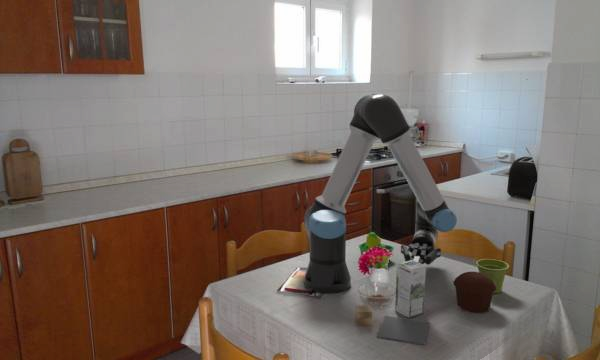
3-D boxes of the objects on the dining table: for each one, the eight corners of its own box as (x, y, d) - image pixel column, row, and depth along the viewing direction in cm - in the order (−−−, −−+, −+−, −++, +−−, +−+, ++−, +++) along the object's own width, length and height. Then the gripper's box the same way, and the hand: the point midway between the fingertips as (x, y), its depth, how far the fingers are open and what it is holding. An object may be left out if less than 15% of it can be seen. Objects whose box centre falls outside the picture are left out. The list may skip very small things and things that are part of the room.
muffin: (497, 303, 143) (499, 271, 141) (492, 318, 133) (494, 284, 131) (456, 295, 148) (457, 264, 146) (448, 309, 139) (449, 276, 137)
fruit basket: (394, 259, 180) (395, 230, 178) (381, 266, 173) (382, 236, 171) (368, 253, 187) (369, 225, 185) (355, 259, 181) (355, 230, 179)
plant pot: (502, 299, 145) (504, 271, 144) (470, 291, 151) (472, 265, 150) (510, 288, 153) (512, 262, 151) (480, 282, 158) (481, 256, 157)
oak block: (357, 326, 130) (357, 312, 129) (355, 319, 134) (355, 305, 133) (371, 325, 130) (372, 312, 129) (369, 319, 134) (370, 305, 133)
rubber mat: (376, 337, 124) (376, 335, 124) (385, 316, 135) (385, 315, 135) (424, 345, 120) (424, 343, 120) (429, 323, 131) (429, 322, 131)
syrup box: (409, 306, 141) (410, 258, 139) (424, 313, 136) (426, 265, 134) (394, 311, 138) (396, 262, 136) (409, 319, 133) (411, 269, 131)
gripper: (442, 256, 162) (437, 282, 140) (403, 252, 166) (391, 277, 144) (443, 234, 160) (438, 258, 138) (403, 231, 165) (392, 253, 143)
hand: (414, 267), depth 141 cm, fingers closed
